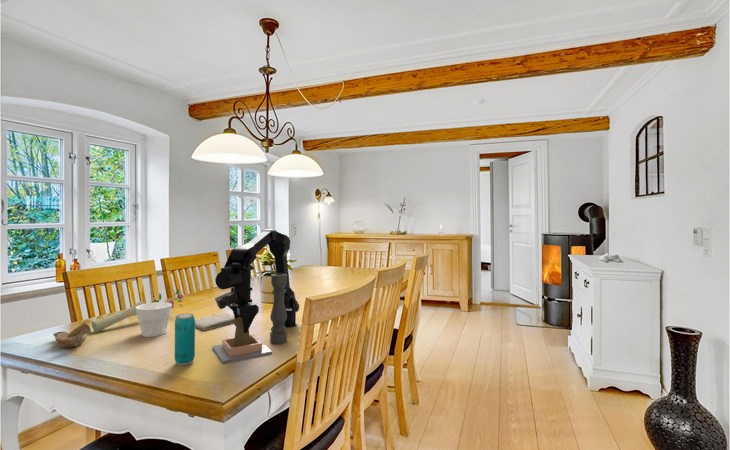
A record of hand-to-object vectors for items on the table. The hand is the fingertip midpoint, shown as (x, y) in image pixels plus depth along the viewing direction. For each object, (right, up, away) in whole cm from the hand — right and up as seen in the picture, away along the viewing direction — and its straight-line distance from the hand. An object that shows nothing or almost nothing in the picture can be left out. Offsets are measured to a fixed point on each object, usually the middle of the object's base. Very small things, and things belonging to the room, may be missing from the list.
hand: (241, 329), depth 127 cm
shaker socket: (0, -8, 0) cm, 8 cm away
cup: (-40, -7, +18) cm, 45 cm away
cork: (0, -7, 0) cm, 7 cm away
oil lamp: (-62, -7, +4) cm, 63 cm away
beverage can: (-14, -8, -11) cm, 20 cm away
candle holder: (+10, -8, +10) cm, 17 cm away
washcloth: (-22, -7, +32) cm, 40 cm away
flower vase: (-55, -7, +32) cm, 64 cm away
